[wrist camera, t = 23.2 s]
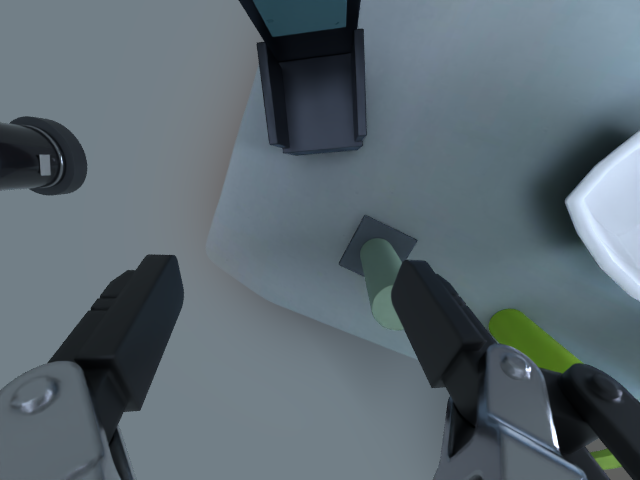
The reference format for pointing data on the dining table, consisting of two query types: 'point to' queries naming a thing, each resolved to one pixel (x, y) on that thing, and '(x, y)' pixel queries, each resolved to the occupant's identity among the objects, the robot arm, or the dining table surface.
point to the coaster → (372, 230)
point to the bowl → (612, 214)
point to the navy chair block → (311, 73)
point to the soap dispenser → (539, 354)
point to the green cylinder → (381, 280)
